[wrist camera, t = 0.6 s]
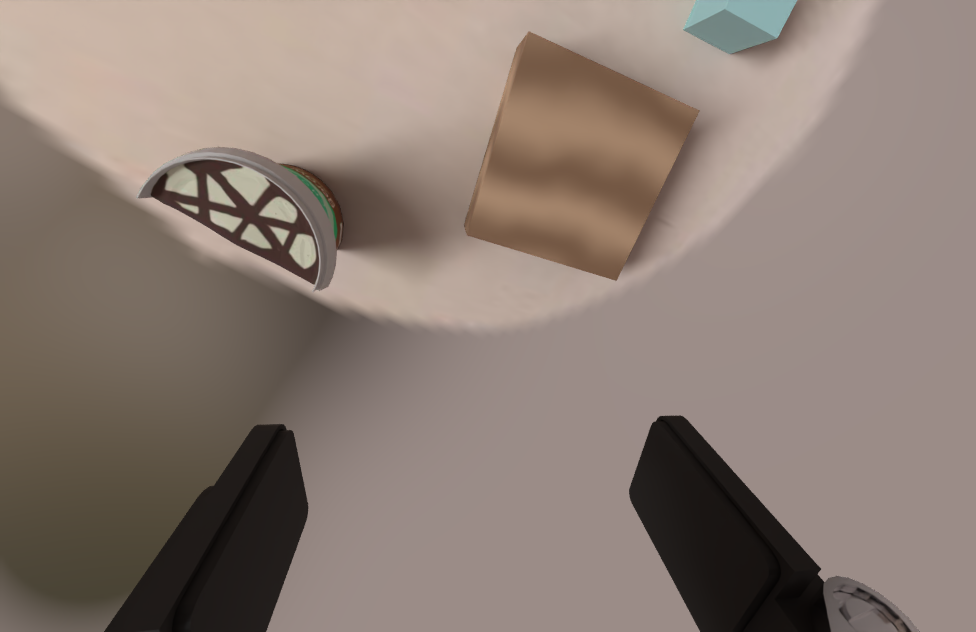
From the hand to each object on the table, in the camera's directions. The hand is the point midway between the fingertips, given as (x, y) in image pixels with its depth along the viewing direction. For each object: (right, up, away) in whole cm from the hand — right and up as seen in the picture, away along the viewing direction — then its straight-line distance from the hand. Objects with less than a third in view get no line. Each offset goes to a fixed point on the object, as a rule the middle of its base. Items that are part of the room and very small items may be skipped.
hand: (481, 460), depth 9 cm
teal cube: (+20, +30, +20) cm, 41 cm away
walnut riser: (+7, +17, +24) cm, 31 cm away
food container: (-16, +15, +23) cm, 32 cm away
